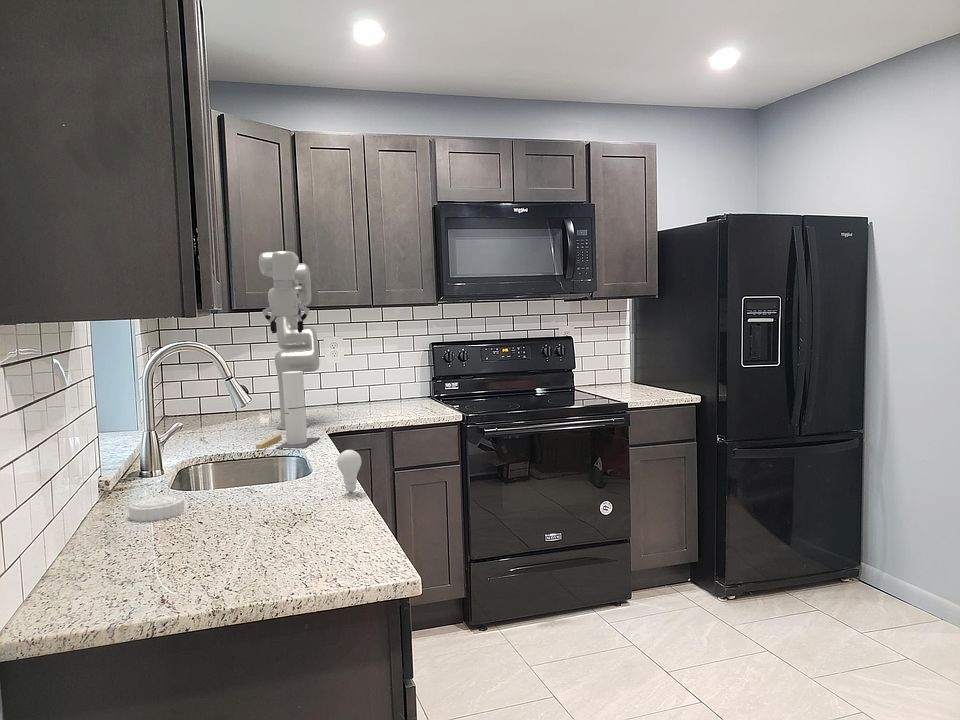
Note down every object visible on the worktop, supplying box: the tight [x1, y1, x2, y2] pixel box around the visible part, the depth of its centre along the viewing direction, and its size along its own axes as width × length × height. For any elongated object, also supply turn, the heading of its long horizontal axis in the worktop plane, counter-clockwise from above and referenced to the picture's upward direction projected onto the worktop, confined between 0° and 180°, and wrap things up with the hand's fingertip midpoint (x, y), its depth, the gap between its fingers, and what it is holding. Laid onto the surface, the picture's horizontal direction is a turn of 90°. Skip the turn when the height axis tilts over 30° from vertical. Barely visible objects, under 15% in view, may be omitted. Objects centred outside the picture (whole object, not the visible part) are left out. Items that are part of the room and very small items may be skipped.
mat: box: [275, 436, 321, 450], centre depth 257 cm, size 18×10×1 cm, turn 176°
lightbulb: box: [336, 449, 362, 494], centre depth 185 cm, size 6×6×11 cm
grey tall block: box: [282, 371, 308, 444], centre depth 257 cm, size 7×7×25 cm
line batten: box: [255, 433, 283, 450], centre depth 258 cm, size 20×2×2 cm, turn 176°
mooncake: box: [128, 494, 185, 522], centre depth 173 cm, size 12×12×4 cm
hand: (287, 332), depth 266 cm, fingers open, 9 cm apart
